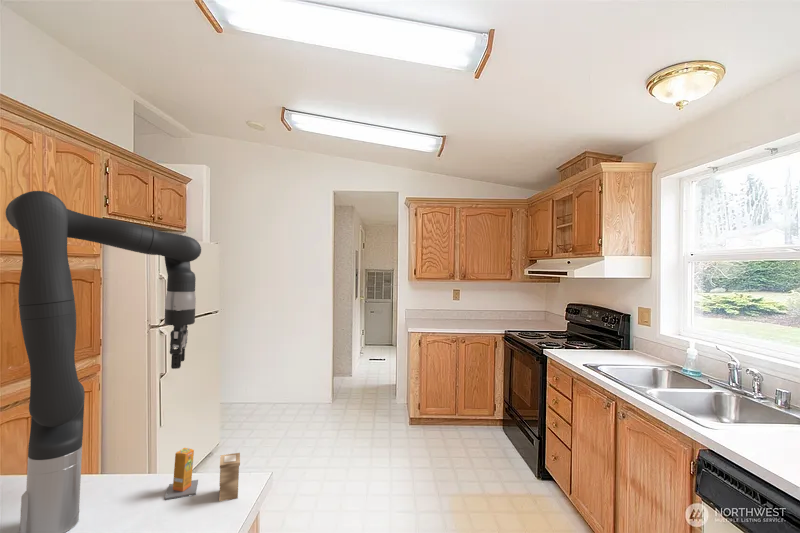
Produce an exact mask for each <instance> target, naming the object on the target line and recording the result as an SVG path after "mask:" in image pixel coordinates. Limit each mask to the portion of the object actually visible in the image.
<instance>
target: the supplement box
mask: <svg viewBox="0 0 800 533" xmlns="http://www.w3.org/2000/svg"><path fill="white" fill-rule="evenodd" d="M194 451H195V449H193V448H189V447H183V448H181V449H180V450H179V451H176V452H175V455H174V456H175V457H174V467H173V468H174V469H173V481H172V482H173V483H172V484H173V490H175V491H180V492H183V491H185V490H186V489H187V488H189V487H190V486H191V481H193V477H192V476H193V466H194V454H195V452H194Z"/></svg>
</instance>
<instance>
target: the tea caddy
mask: <svg viewBox="0 0 800 533" xmlns="http://www.w3.org/2000/svg"><path fill="white" fill-rule="evenodd" d="M219 457H220V459H219V469H220V470H219V496H218V497H219V498H218V499H219V500H218V502H224V501H229V500H235V499H238V498H239V478H240V476H239V474H240V466H241V453H240V452H235V453H228V454H222V455H220V456H219Z"/></svg>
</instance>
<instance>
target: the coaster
mask: <svg viewBox="0 0 800 533" xmlns="http://www.w3.org/2000/svg"><path fill="white" fill-rule="evenodd" d="M198 485H199V479H194V480H193V479H192V481H191V486H190V487H189V488H187V489H186V490H185V491H183V492H180V491H175V490H173V483H170V484H168V487H167V490H166V494H165V498H164V500H165V501H169V500H174V499H180V498H186V497H190V496H189V495H192V496H196V495H197V489H198Z"/></svg>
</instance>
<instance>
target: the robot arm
mask: <svg viewBox="0 0 800 533" xmlns="http://www.w3.org/2000/svg"><path fill="white" fill-rule="evenodd" d="M5 218H6V221H7V222H8V224H10V226H11V227H12V228H13V229H15V230H17V232H18V236H19V241H20V246H21V252H22V253H21V254H22V264H21V272H20V277H19V283H18V284H19V285H18V293H17V294H18V311H19V319H20V325H21V332H22V337H23V341H24V347H25V351H26V354H27V358H28V363H29V370H30V371H29V372H30V384H29V385H30V386H29V388H30V389H29V390H30V392H29V404H28V412H29V415H30V417H31V418H30V433H29V440H28V445H27V446H28V448H27V472H26V488H25V489H26V490H25V491H24V492H23V494H21V499H20V502H21V503H20V520H19V521H20V523H19V533H66V532H67V531H70V530H71V529H72V528H74V527H75V526H76V525H77V524H78V522H79V520H80V519H79V518H80V503H81V502H80V500H81V499H80V498H81V482H82V481H81V480H82V460H83V459H82V457H83V440H84V439H83V438H84V437H83V436H84V415H85V392H86V391H85V388H84V386H83V384H82V383H81V382H80V381H79V377H78V374H77V373H78V372H77V368H76V362H75V360H76V359H75V358H76V357H75V354H76V353H75V352H76V351H75V350H76V338H77V308H76V300H75V299H76V298H75V294H74V286H73V279H72V273H71V269H70V268H71V267H70V262H69V258H68V238H69V239H75V240H81V241H86V242H87V241H88V242H92V243H95V244H96V243H97V244H100V245H104V246H110V247H113V248H118V249H121V250H126V251H130V252H135V253H139V254H143V255H144V254H145V255H149V256H160V257H164V263H165V269H166V273H167V279H166V280H167V281H166V294H165V299H164V300H165V301H164V302H165V304H164V325H166V326H173V330H171V331H170V335H169V337H170V342H169V354H170V355H171V359H170V360H171V364H170V365H171V366H170V368H171V369H173V370H174V369H175V370H177V369H180V368H181V367H182V366H181V365H182V362H185V360H186V358H185V356H186V348H187V343H188V335H189V329H188V326H191V325H193V324H195V322H196V321H195V320H196V305H197V304H196V303H197V301H196V274H195V272H193V271H192V270H191V262H194V261H195V260H197V259H198V258H199V257H200V255H201V254H202V247H201V244H200V243H199V241H198V240H196V239H195V238H193V237H191V236H187V235H183V234H178V233H172V232H167V231H161V230H158V229H155V228H151V227H148V226H145V225H140V224H138V223H132V222H129V221H128V222H127V221H122V220H117V219H110V218H103V217H97V216H94V215H93V216H92V215H88V214H84V213H80V212H78V211H74V210H71V209H68V208H67V206H66V204H65V203H64V202H63V201H62V200H61V198H59V197H58V196H57V195H55V194H53V193H51V192H48V191H44V190H31V191H27V192H25V193H22V194H20V195H18V196H16V197H15V198H14V199H12V200H10V202H9V203H8V204H7V206H6V208H5Z"/></svg>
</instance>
